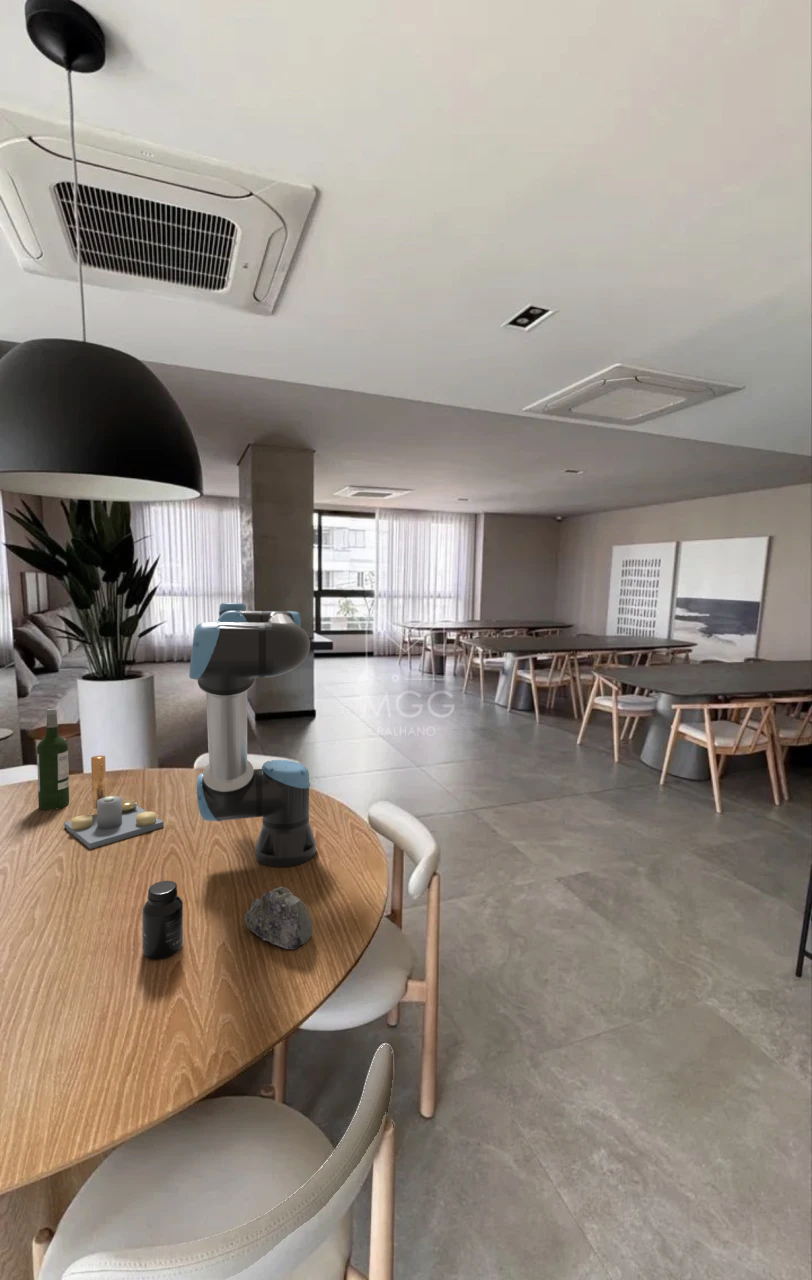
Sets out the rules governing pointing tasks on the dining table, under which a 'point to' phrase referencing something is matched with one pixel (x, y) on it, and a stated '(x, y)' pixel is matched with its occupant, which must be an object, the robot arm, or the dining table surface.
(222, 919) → the dining table surface
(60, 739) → the wine bottle
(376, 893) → the dining table surface
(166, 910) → the supplement bottle
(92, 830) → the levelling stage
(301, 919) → the mineral rock
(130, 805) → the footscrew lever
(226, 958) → the dining table surface
